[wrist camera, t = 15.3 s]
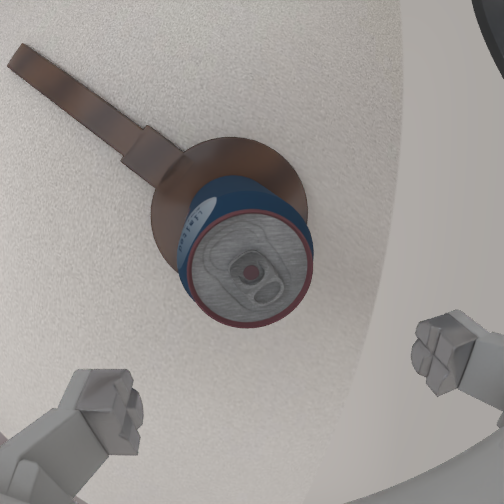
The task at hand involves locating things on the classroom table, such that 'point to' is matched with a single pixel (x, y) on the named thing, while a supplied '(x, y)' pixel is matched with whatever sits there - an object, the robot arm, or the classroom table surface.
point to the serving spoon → (162, 152)
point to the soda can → (244, 253)
